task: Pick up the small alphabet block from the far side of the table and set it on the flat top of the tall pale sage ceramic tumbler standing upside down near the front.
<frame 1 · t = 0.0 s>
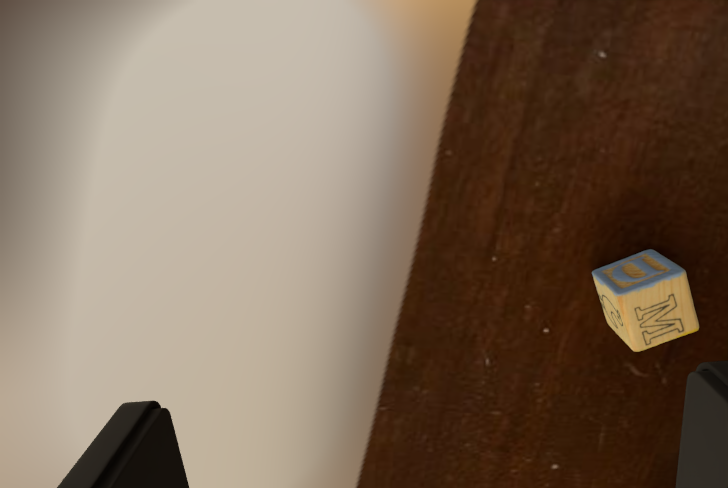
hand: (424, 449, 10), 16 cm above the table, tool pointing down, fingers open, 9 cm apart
alphabet block: (626, 284, 26), on the table
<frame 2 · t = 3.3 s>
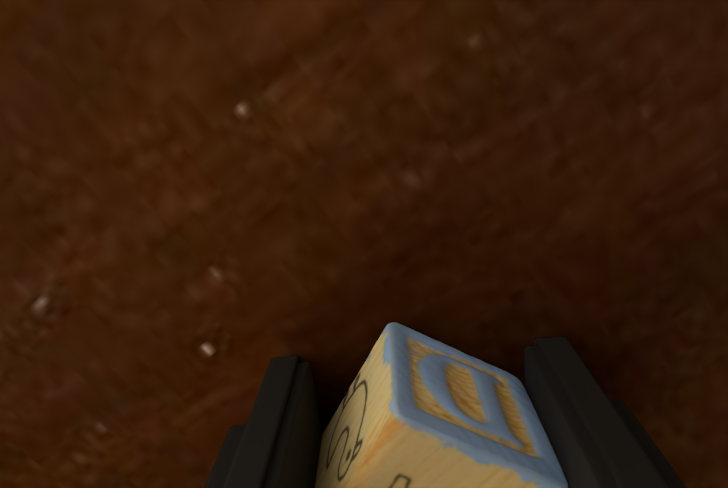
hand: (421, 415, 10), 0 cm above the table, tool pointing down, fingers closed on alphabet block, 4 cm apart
alphabet block: (419, 400, 11), on the table, touching gripper
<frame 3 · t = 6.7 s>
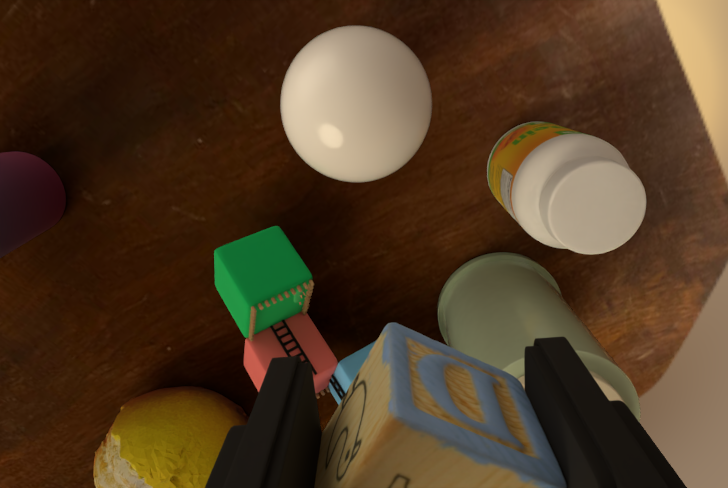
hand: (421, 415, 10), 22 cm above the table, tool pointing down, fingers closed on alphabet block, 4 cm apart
alphabet block: (418, 400, 11), point 21 cm above the table, touching gripper
building blocks: (327, 311, 34), on the table
lightbulb: (362, 97, 30), on the table
supplement bottle: (530, 167, 31), on the table
fruit: (192, 441, 38), on the table
upturned tumbler: (560, 432, 22), on the table
cup: (27, 191, 32), on the table
when the fingers open (12 cm above the table, at t = 10.3 s): alphabet block stays where it is, resting on upturned tumbler.
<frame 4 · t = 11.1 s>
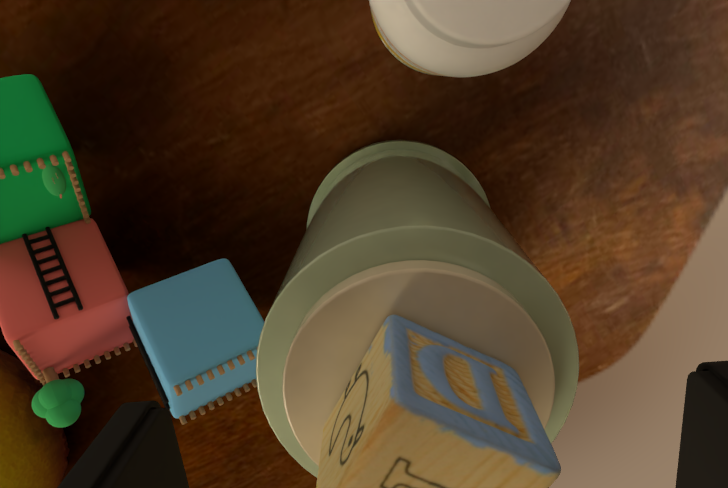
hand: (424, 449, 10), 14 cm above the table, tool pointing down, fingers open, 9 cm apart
alphabet block: (418, 390, 11), point 12 cm above the table, touching upturned tumbler
building blocks: (148, 229, 23), on the table
upturned tumbler: (417, 396, 11), on the table
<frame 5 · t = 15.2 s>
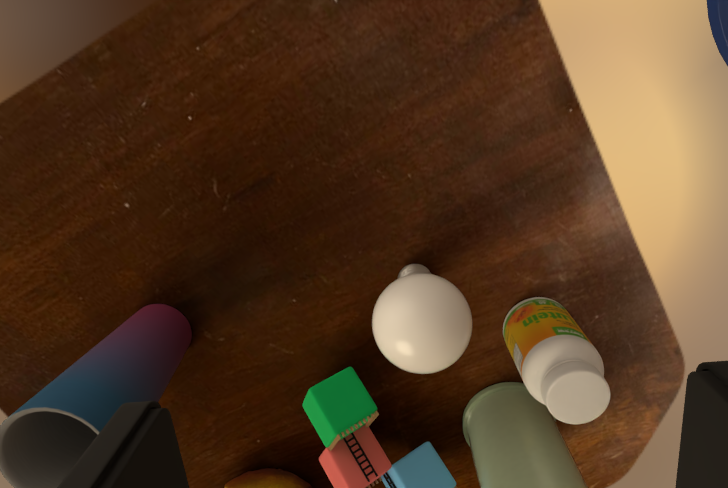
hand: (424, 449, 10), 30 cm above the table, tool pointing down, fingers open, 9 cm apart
building blocks: (379, 417, 45), on the table
lightbulb: (414, 275, 41), on the table
supplement bottle: (534, 324, 42), on the table
cup: (162, 330, 43), on the table
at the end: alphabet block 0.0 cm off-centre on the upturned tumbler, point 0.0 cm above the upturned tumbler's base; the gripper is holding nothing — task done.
